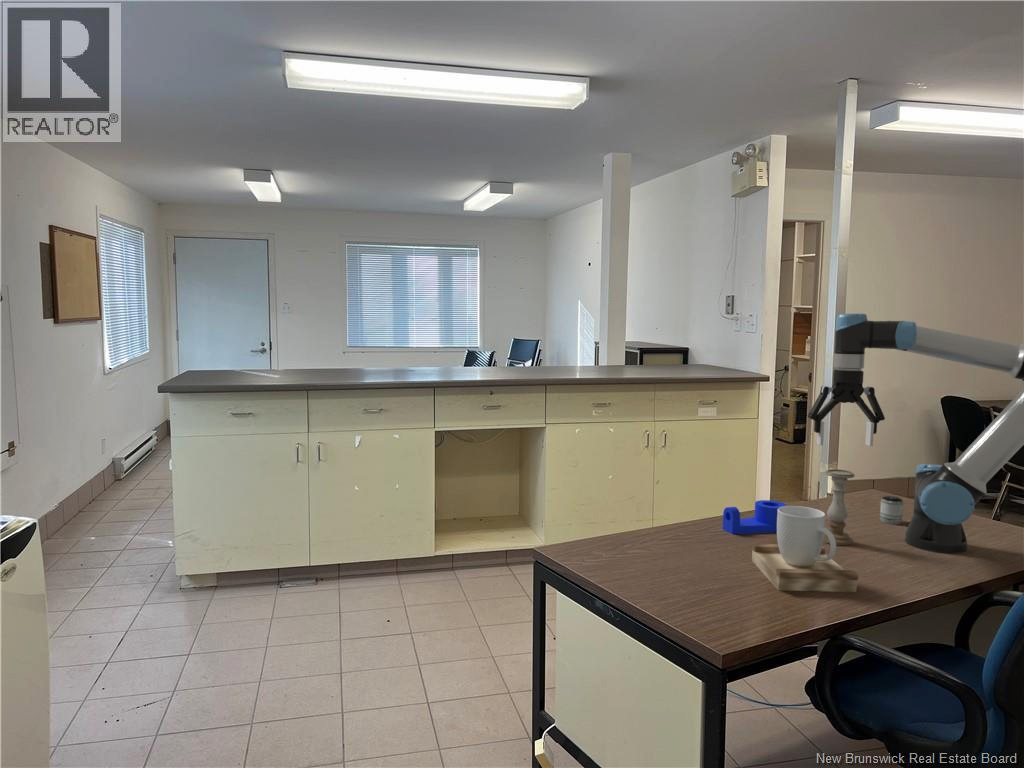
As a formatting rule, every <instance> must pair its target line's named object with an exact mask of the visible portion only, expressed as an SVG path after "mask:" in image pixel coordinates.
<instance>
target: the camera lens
mask: <svg viewBox="0 0 1024 768" xmlns="http://www.w3.org/2000/svg"><path fill="white" fill-rule="evenodd" d="M903 516H904V500H903V499H901V498H900V497H897V496H893V495H891V496H889V495H886V496H883V497H882V498H880V511H879V518H880V521H881V522H882V523H884V524H888V525H901V524H902V521H903Z"/></svg>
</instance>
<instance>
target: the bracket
mask: <svg viewBox="0 0 1024 768" xmlns="http://www.w3.org/2000/svg"><path fill="white" fill-rule="evenodd" d="M783 506H788V505H787V503H785V502H781V501H777V500H768V499H767V500H766V499H765V500H763V499H762V500H761V499H760V500H756V501H755V502H754V517H747V518H741V512H740V510H739V508H737V506H727V507H726V506H725V508H724V509H723V514H722V515H723V516H722V530H723V531H725V532H728V533H729V534H732V535H737V534H738V535H740V534H741V535H742V534H744V535H745V534H765V532H771V533H777V514H778V508H780V507H783Z"/></svg>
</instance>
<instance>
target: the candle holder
mask: <svg viewBox="0 0 1024 768" xmlns="http://www.w3.org/2000/svg"><path fill="white" fill-rule="evenodd" d="M824 473H825V475H826V476H829V477H830V479H831V481H832V482H833V486H832V488H831V490H832V491H833V492H832V494H833V495H832V502H831V503H830V504H829V507H828V509H827V517H828V519H829V520H828V521H827V524H828V527H829V529H828V530H829V531H830V532H831V533H832V534H833V536H834V538H835V541H836V546H850V545H852V544H853V543H854V539H853V538H852V537H851V536H850V535H849V533H847V532H845V531H844V529H845V527H847V524H846V522H845V521H846V520H847V519H848V516H849V514H848V513H849V512H848V509H847V507H846V505H845V492H847V489H846V486H845V485H846V483H847V482H848V479H852V478H855V476H856V475H855V473H854V472H853V471H850V470H846V469H837V468H836V469H831V468H829V469H827V470H825V471H824ZM823 543H826V544H829V545H830V541H829V539H828V537H827V535H826V534H824V541H823Z"/></svg>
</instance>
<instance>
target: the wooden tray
mask: <svg viewBox="0 0 1024 768" xmlns="http://www.w3.org/2000/svg"><path fill="white" fill-rule="evenodd" d="M751 545H752V546H751V550H752V552H751V553H752V555H751V562H752V563H753V564H754V565H755V567H757V568H758V570H760V572H762V574H763V575H764V576H765V577H766V578H767V579H768V580H769V581H770V582H771V584H772V585H773V586H774V587H775V588H776V589H777V590H778V591H793V592H794V591H795V592H796V591H797V592H798V591H799V592H804V591H805V592H833V593H835V592H837V593H838V592H839V593H841V592H842V593H857V588H858V587H857V586H858V585H857V583H858V580H859V573H858V572H856V571H855V570H854V569H853V570H851V569H849V570H847V569H846V570H845V569H844V568H843V567H842V566H841V565H840V564H838V563H837V562H836V561H834V560H833V558H832V559H830V560H828V561H816V562H815V563H814V564H813V565H812V566H809V567H799V566H794V565H790V564H788V563H786V562H785V561H784V559H783V558H782V555H781V554H780V550H779V546H778V543H752V544H751ZM827 556H828V555H827V554H826V547H824V545H823V546H822V549H821V553H820V555H819V557H822V558H824V557H827Z"/></svg>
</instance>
